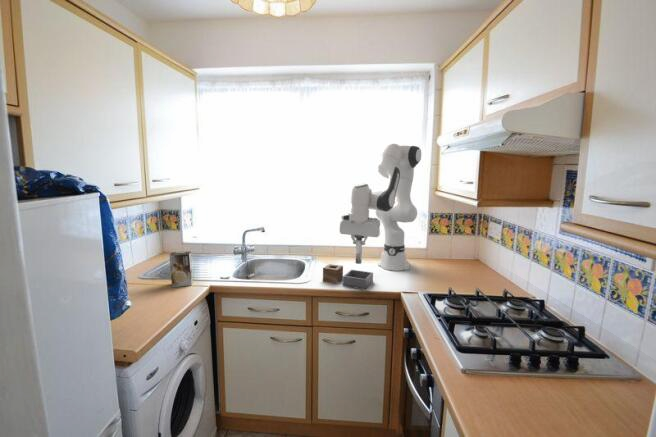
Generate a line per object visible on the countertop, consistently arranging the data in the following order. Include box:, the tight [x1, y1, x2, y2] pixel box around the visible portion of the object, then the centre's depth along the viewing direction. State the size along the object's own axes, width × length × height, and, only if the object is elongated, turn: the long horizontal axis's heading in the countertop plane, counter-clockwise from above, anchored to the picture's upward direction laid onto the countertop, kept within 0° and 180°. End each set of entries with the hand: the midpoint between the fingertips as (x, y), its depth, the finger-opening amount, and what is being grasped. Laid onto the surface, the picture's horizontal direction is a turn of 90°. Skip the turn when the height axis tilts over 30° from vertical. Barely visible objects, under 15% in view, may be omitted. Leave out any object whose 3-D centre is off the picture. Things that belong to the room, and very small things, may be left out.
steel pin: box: [354, 235, 365, 265], centre depth 157 cm, size 5×5×14 cm
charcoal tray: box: [342, 269, 374, 290], centre depth 159 cm, size 12×12×5 cm
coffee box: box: [169, 251, 194, 288], centre depth 155 cm, size 9×6×16 cm
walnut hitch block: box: [322, 263, 344, 284], centre depth 165 cm, size 8×8×7 cm
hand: (359, 244), depth 156 cm, fingers closed on steel pin, 3 cm apart
